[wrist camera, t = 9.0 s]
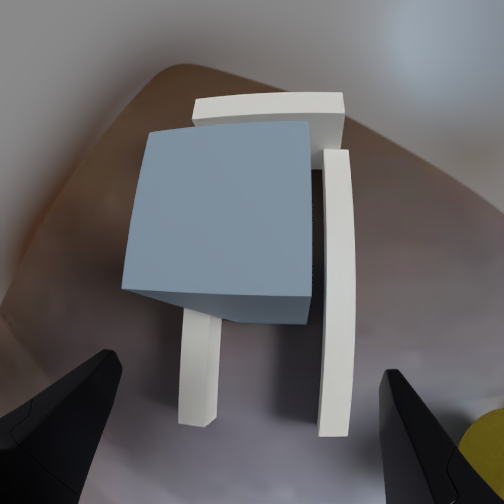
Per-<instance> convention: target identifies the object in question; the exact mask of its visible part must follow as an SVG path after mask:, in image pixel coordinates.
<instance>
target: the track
mask: <svg viewBox="0 0 504 504" xmlns="http://www.w3.org/2000/svg"><path fill="white" fill-rule="evenodd" d="M344 118H345V109H344V102H343V95H342V93H339V92H284V93H260V94H244V95H231V96H221V97H211V98H202V99H196V101H195V106H194V111H193V116H192V121H193V123H194V124H195V126H196V127H199V126H209V125H220V124H233V123H249V122H270V121H309V134H310V158H311V169H320V170H322V177H323V207H324V311H323V340H322V361H321V379H320V394H319V407H318V420H317V427H318V435H319V437H338V436H348V428H349V418H350V407H351V395H352V381H353V365H354V343H355V240H354V217H353V200H352V186H351V173H350V162H349V152H348V150H340V147H341V140H342V133H343V125H344ZM221 323H222V318H220V317H216V316H212V315H208V314H205V313H201V312H198V311H194V310H190V309H187V308H184V315H183V329H182V345H181V362H180V382H179V409H178V423H180V424H186V425H192V426H198V427H206V426H207V425H208V424H209V423H210V422H212V421H213V420H214V419H215V418H216V416H217V394H218V375H219V356H220V339H221Z"/></svg>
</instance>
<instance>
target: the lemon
mask: <svg viewBox="0 0 504 504" xmlns="http://www.w3.org/2000/svg"><path fill="white" fill-rule="evenodd" d="M458 449H459V450H460V452H461V453H462V454H463V456H464V457H465V458H466V460H467V461H468V462H469V463H470V465H471V466H472V467H473V468H474V469H475V470H476V472H477V473H478V474H479V475H480V476H481V477H482V478H483V479H484V480H485V481H486V483H487V484H488V485H489V486H490V487H491V488H492V489H493V490H494V491H495V492H496V493H497V494H498V495H499V496H500V497H501V498H502V499H503V500H504V408H501V409H497V410H493V411H491V412H489V413H487V414H485V415H483V416H481V417H480V418H479V419H477V420H476V421H475V422H474V423H473V424H472V425H471V426H470V427H469V428H468V429H467V431H466V432H465V434H464V435H463V437H462V438H461V441H460V443H459V445H458Z"/></svg>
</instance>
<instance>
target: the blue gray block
mask: <svg viewBox="0 0 504 504" xmlns="http://www.w3.org/2000/svg"><path fill="white" fill-rule="evenodd" d="M122 289H124V290H127V291H131V292H134V293H137V294H140V295H143V296H147V297H150V298H153V299H156V300H160V301H163V302H166V303H170V304H173V305H177V306H180V307H183V308H187V309H190V310H194V311H198V312H201V313H205V314H208V315H212V316H216V317H220V318H223V319H227V320H231V321H235V322H240V323H262V324H296V325H306V324H307V318H308V313H309V307H310V302H311V296H312V193H311V158H310V134H309V121H270V122H249V123H233V124H220V125H209V126H199V127H189V128H180V129H172V130H164V131H157V132H150V133H149V137H148V141H147V145H146V149H145V153H144V158H143V162H142V167H141V171H140V176H139V181H138V186H137V191H136V196H135V201H134V207H133V212H132V218H131V224H130V230H129V236H128V243H127V249H126V257H125V264H124V272H123V280H122Z"/></svg>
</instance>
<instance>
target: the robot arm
mask: <svg viewBox="0 0 504 504" xmlns="http://www.w3.org/2000/svg"><path fill="white" fill-rule="evenodd" d="M121 374H122V365H121V363H120V361H119V358H118V356H117V354H116V352H115V351H113V350H108V349H104V350H102V351H100V352H99V353H97V354H96V355H94V356H93V357H91V358H90V359H89V360H87V361H86V362H84V363H83V364H81V365H80V366H78V367H77V368H75V369H74V370H72V371H71V372H70V373H68V374H67V375H65V376H64V377H62V378H61V379H59V380H58V381H56V382H55V383H53V384H52V385H51V386H49V387H48V388H46V389H45V390H43V391H42V392H40V393H39V394H37V395H36V396H34V397H33V398H31V399H30V400H29V401H27V402H26V403H24V404H23V405H21V406H20V407H18V408H16V409H15V410H13V411H11V412H10V413H8V414H6V415H4V416H3V417H1V418H0V504H78V502H79V499H80V496H81V493H82V490H83V487H84V484H85V481H86V478H87V475H88V472H89V469H90V466H91V463H92V460H93V458H94V455H95V452H96V449H97V446H98V444H99V441H100V438H101V436H102V433H103V430H104V428H105V425H106V422H107V420H108V417H109V414H110V412H111V409H112V406H113V403H114V399H115V396H116V392H117V388H118V385H119V381H120V378H121ZM379 417H380V442H381V450H382V460H383V470H384V481H385V494H386V504H504V500H503V499H502V498H501V497H500V496H499V495H498V494H497V493H496V492H495V491H494V490H493V489H492V488H491V487H490V486H489V485H488V484H487V483H486V481H485V480H484V479H483V478H482V477H481V476H480V475H479V474H478V473H477V472H476V470H475V469H474V468H473V467H472V466H471V465H470V463H469V462H468V461H467V460H466V458H465V457H464V456H463V454H462V453H461V452H460V450H459V449H458V448H457V446H454V445H455V444H454V442H453V441H452V439H451V438H450V437H449V435H448V434H447V433H446V431H445V430H444V429H443V427H442V426H441V425H440V423H439V422H438V421H437V419H436V418H435V417H434V415H433V414H432V413H431V411H430V410H429V409H428V407H427V406H426V405H425V403H424V402H423V401H422V399H421V398H420V397H419V396H418V394H417V393H416V392H415V390H414V389H413V388H412V386H411V385H410V384H409V383H408V381H407V380H406V379H405V377H404V376H403V375H402V374H401V372H400V371H399V370H398V369H387V370H385V372H384V374H383V377H382V380H381V383H380V387H379Z"/></svg>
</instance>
